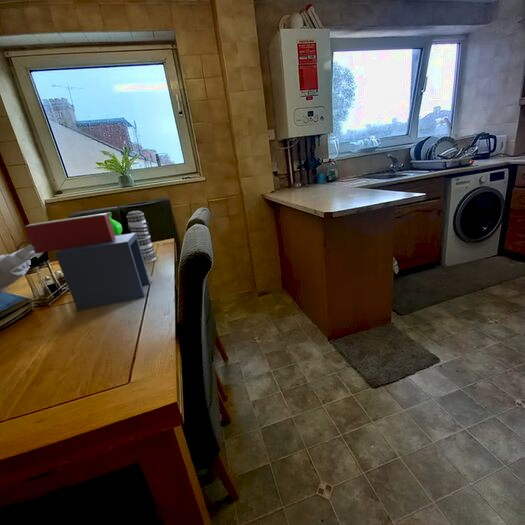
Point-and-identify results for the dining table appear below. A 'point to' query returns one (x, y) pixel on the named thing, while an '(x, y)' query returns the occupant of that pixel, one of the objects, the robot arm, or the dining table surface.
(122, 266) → the shelf
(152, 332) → the dining table surface
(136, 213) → the leaning tower model
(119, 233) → the plastic bottle
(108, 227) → the book
